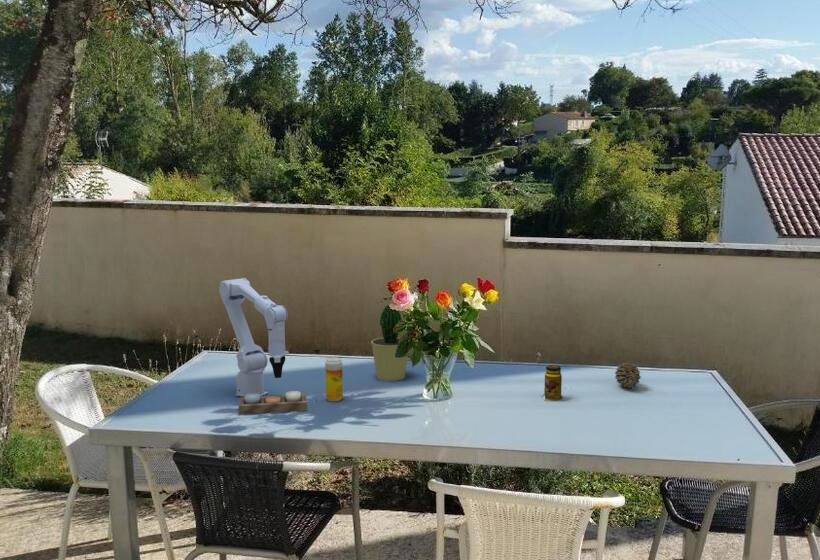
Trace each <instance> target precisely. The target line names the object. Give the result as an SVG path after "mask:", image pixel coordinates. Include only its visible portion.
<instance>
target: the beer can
mask: <svg viewBox="0 0 820 560" xmlns="http://www.w3.org/2000/svg"><path fill="white" fill-rule="evenodd" d="M324 363H325V398H326V399H327V401H328V402H333V403H334V402H341V401H342V399H343V395H344V394H343V392H344V391H343V390H344V389H343V388H344V387H343V386H344V385H343V384H344V383H343V360H342V358H340V357H327V358H326V360H325V362H324Z"/></svg>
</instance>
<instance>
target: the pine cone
mask: <svg viewBox="0 0 820 560" xmlns="http://www.w3.org/2000/svg"><path fill="white" fill-rule="evenodd" d="M615 370H616V371H614V375H615V376H614V378H615V380H616V383H618V385H621V386H620V387H624V388H625V387H626V388H628V389H629V388H632V387H633V388H635V387H636V386H638V384H639V383H640V379H642V376H641V375H640V374H641V370H639V367H638V365H635V363H633V364H632V363H630V362H629V363H628V362H622V363H621V364H619V366H617V367H616V369H615Z"/></svg>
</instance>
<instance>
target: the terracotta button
mask: <svg viewBox="0 0 820 560" xmlns="http://www.w3.org/2000/svg"><path fill="white" fill-rule="evenodd" d="M270 396H271V397H267V398H266V399H265V401H266V403H274V402H281V398H280V397H278V396H279V395H270Z"/></svg>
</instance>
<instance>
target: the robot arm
mask: <svg viewBox="0 0 820 560" xmlns="http://www.w3.org/2000/svg"><path fill="white" fill-rule="evenodd" d="M218 292H219V295H220V297H221V300H222V303H223V305H224V307H225V310H226V312H227V315H228V317H229V321H230V323H231V325H232V329H233V331H234V334H235V337H236V340H237V342H238V345H239V348H240V349H239V351H238V352H237V353H236V359H237V367H238V369H239V371H238V373H237V375H236V377H235V378H236V393H235V396H237V397H238V396H239V397H241V398H243V397H245V395H246V394H250V393H258V394H260V397H262V396H266V395H268V394H269V391H266V390H264V371H266V370H265V369H266V367H267V366H268V362H269V363H270V364H271V367H272V371H273V376H274V379H281V378H282V374H283V367H284V364H285V362H286V355H289V354H290V353H289V351H288V350H286V337H285V335H286V334H285V333H286V331H285V330H286V327H285V322H286V321H287V319H288V318H289V317H288V316H289V312H288V309H287V307H286V306H284V305H283V304H281V305H278V304H276V303H275V302H274V301H273V300H271V299H270V298H269V296H267V295H260V294H259V292H258V291H256V290H255V289H254V288H253V287H252V286H251V283H250V281H249V280H248V279H247V278H246V277H241V278H235V279H228V280H226V279H225V280H222V281H221V282H220V285H219V288H218ZM245 299H247V300H248V301H250V302H251V303H253V307H254V309H255V310H257V311H258V312H259V313H261V314H262V315H263V317H264V320H265V322H266V327H267V328H266V329H267V330H268V331H267V332H268V352H267V353H268V355H266V353H265V352H264V349H263V348H262V347H261V346H260V345H257V344H255V341H254V339H253V336H252V333H251V330H250V327H249V325H248V322H247V320H246V317H245V314H244V311H243V308H242V303H243V302H245ZM267 356H269V359H268V357H267ZM268 360H269V361H268Z"/></svg>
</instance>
